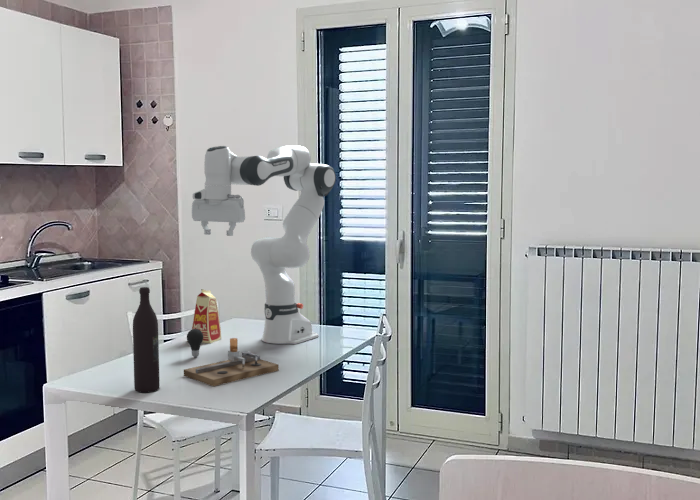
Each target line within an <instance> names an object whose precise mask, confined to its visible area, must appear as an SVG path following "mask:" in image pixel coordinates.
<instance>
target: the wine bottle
mask: <svg viewBox="0 0 700 500" xmlns="http://www.w3.org/2000/svg"><path fill="white" fill-rule="evenodd" d="M138 291H139V293H138V294H139V296H140V297H139V305H138V307H137V310H136V312H135V313H134V316H133V320H132V348H133V349H132V350H133V351H132V352H133V385H134V387H133V388H134V391H135V392H137V393H142V394H143V393H145V394H146V393H152V392H156V391H159V390H160V350H159V346H160V345H159V321H158V317H157V314H156V312H155V311H154V309H153V307H152V304H151V302H150V301H151V300H150V292H151V290H150V287H148V286H142V287H140V288H139V290H138Z"/></svg>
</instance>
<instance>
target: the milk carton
mask: <svg viewBox="0 0 700 500" xmlns="http://www.w3.org/2000/svg"><path fill="white" fill-rule="evenodd" d="M220 321H221V320H220V313H219V307H218V302H217V297H215V296H214V295H213V294H212V290H206V289H201V292H200V293H198V295H196V303H195V308H194V313H193V320H192V326H191V330H192V329H199V330H200V331H201V332H202V333H203V341H202V343H201V344H213V343H215V342H218V341H220V340H222V328H221V322H220Z"/></svg>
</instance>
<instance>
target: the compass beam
mask: <svg viewBox="0 0 700 500" xmlns="http://www.w3.org/2000/svg"><path fill="white" fill-rule="evenodd" d="M241 357H242V358H245V363H247V362H252V361H255V364H257V360H260V359H261V356H260V355H258V354H256V353H252V352H250V351H242V352H241ZM239 364H242V361H240V360H239V361H235V362H233V361H230V362H226V363H221V364H217V365H212V366H207V367H203V368H198V369H196V373H197V374H199V373H203V372H208V371H212V370H216V369H221V368H225V367H230V366H234V365H239Z"/></svg>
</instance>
